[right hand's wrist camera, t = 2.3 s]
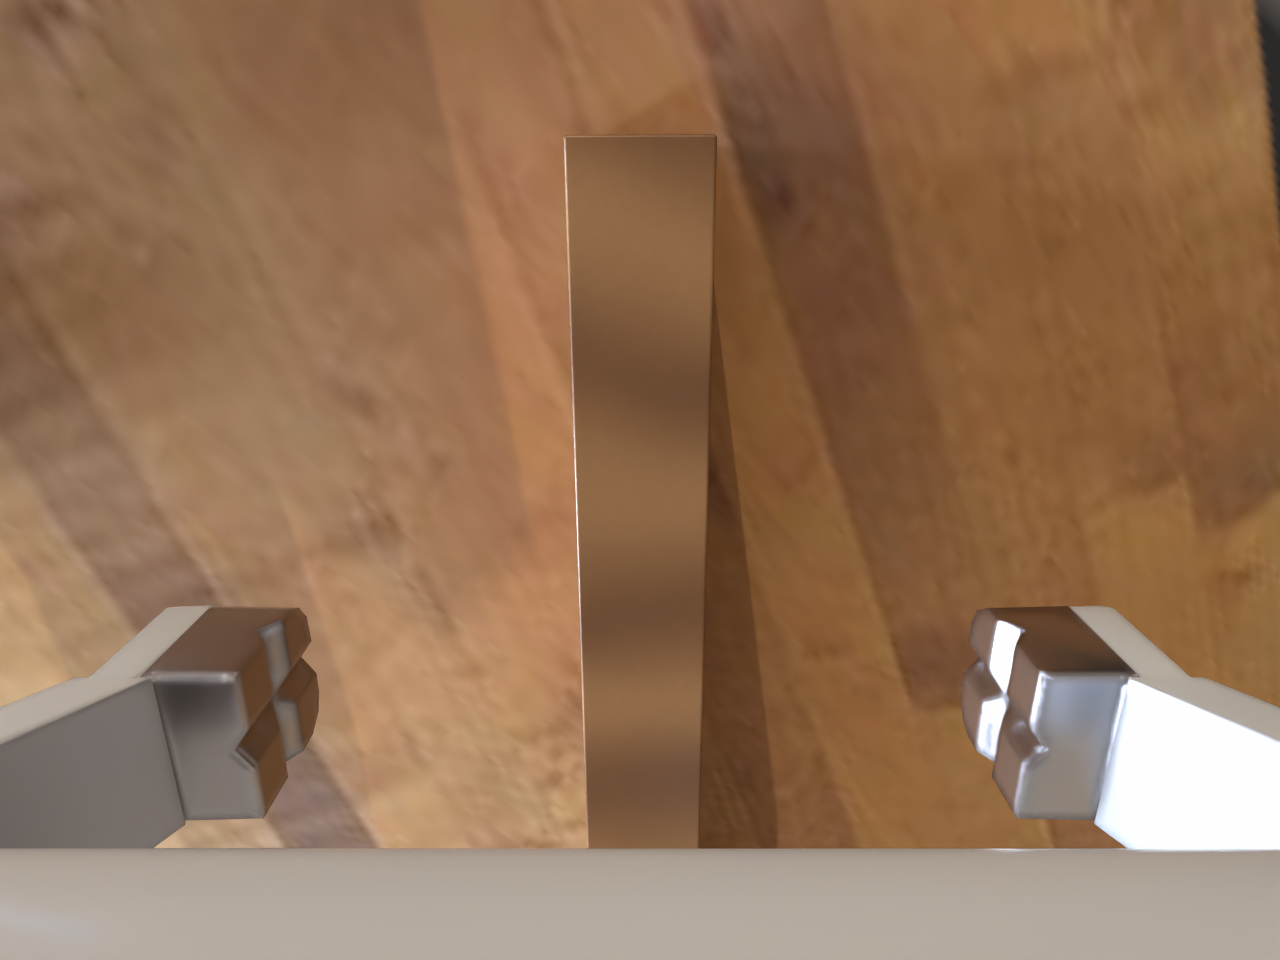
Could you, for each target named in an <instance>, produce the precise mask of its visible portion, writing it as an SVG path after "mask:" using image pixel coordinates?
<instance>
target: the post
mask: <svg viewBox="0 0 1280 960" xmlns="http://www.w3.org/2000/svg"><path fill="white" fill-rule="evenodd" d="M716 156H717V137H716V135H714V134H710V135H566V136H564V166H565V196H566V226H567V256H568V286H569V316H570V346H571V376H572V406H573V436H574V466H575V496H576V526H577V556H578V586H579V616H580V646H581V676H582V706H583V736H584V766H585V796H586V826H587V849H699V826H700V787H701V747H702V708H703V669H704V629H705V590H706V550H707V511H708V471H709V432H710V392H711V353H712V314H713V274H714V235H715V195H716Z"/></svg>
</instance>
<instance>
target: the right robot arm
mask: <svg viewBox="0 0 1280 960" xmlns="http://www.w3.org/2000/svg"><path fill="white" fill-rule="evenodd" d="M310 642H311V637H310V632H309V627H308V622H307V617H306V616H305V614H304V613H303V612H302V611H301V610H300V609H299V608H275V607H221V606H220V607H215V606H213V605H212V606H179V607H168V608H166V609H165V610H164V611H163V612H162V613H161V614H160V615H159V616H157V617H156V618H155V619H154V620H153V621H152V622H151V623H150V624H148V625H147V626H146V627H145V628H144V629H143V630H142V631H141V632H139V633H138V634H137V635H136V636H135V637H134V638H133V639H132V640H131V641H129V642H128V643H127V644H126V645H125V646H124V647H123V648H122V649H120V650H119V651H118V652H117V653H116V654H115V655H114V656H113V657H111V658H110V659H109V660H108V661H107V662H106V663H105V664H104V665H103V666H101V667H100V668H99V669H98V670H97V671H96V672H95V673H94V674H92V675H91V676H90V677H75V678H73V679H70V680H68V681H65V682H63V683H60V684H58V685H55V686H53V687H50V688H48V689H45V690H43V691H40V692H37V693H35V694H32V695H30V696H27V697H25V698H22V699H20V700H17V701H15V702H12V703H10V704H7V705H5V706H2V707H0V960H1280V707H1277V706H1275V705H1272V704H1270V703H1267V702H1265V701H1262V700H1260V699H1257V698H1255V697H1252V696H1250V695H1247V694H1245V693H1242V692H1240V691H1237V690H1235V689H1232V688H1230V687H1227V686H1225V685H1222V684H1220V683H1217V682H1215V681H1212V680H1210V679H1207V678H1205V677H1190V676H1189V675H1188V674H1186V673H1185V672H1184V671H1183V670H1182V669H1181V668H1180V667H1179V666H1178V665H1176V664H1175V663H1174V662H1173V661H1172V660H1171V659H1170V658H1169V657H1168V656H1166V655H1165V654H1164V653H1163V652H1162V651H1161V650H1160V649H1159V648H1157V647H1156V646H1155V645H1154V644H1153V643H1152V642H1151V641H1150V640H1149V639H1147V638H1146V637H1145V636H1144V635H1143V634H1142V633H1141V632H1140V631H1139V630H1137V629H1136V628H1135V627H1134V626H1133V625H1132V624H1131V623H1130V622H1128V621H1127V620H1126V619H1125V618H1124V617H1123V616H1122V615H1121V614H1120V613H1118V612H1117V611H1116V610H1115V609H1114V608H1110V607H1107V606H1103V605H1099V606H1077V607H1068V606H1056V607H1014V608H986V609H980V610H977V612H976V614H975V617H974V619H973V621H972V625H971V631H970V637H969V642H970V644H971V645H972V647H973V648H974V650H975V651H976V653H977V655H978V656H979V657H978V659H977V660H976V661H975V662H974V663H973V664H972V665H971V666H970V667H969V668H968V669H967V670H966V671H965V672H964V675H963V683H962V692H961V704H962V714H963V721H964V724H965V727H966V731H967V734H968V736H969V738H970V740H971V742H972V744H973V745H974V747H975V749H976V751H978V752H979V753H981V754H983V755H984V756H986V757H987V758H989V759H991V760H992V761H994V767H993V773H992V778H993V780H994V781H995V783H996V785H997V786H998V788H999V790H1000V791H1001V793H1002V795H1003V796H1004V798H1005V800H1006V801H1007V803H1008V805H1009V806H1010V808H1011V810H1012V811H1013V813H1014V815H1015V816H1016V818H1025V819H1062V820H1095V822H1094V824H1095V825H1097V826H1098V827H1099V828H1101V829H1102V830H1103V831H1105V832H1106V833H1107V834H1109V835H1110V836H1111V837H1113V838H1114V839H1116V840H1117V841H1118V842H1120V843H1121V844H1122V845H1124V846H1125V847H1126V848H1128V849H544V848H543V849H537V848H534V849H530V848H525V849H523V848H154V847H155V846H157V845H158V844H159V843H161V842H162V841H163V840H165V839H166V838H167V837H169V836H170V835H172V834H173V833H174V832H176V831H177V830H178V829H180V828H181V827H182V826H184V825H185V820H216V819H252V818H264V816H265V815H266V813H267V811H268V810H269V808H270V806H271V805H272V803H273V801H274V800H275V798H276V796H277V795H278V793H279V791H280V790H281V788H282V786H283V785H284V783H285V781H286V780H287V778H288V773H287V767H286V761H288V760H289V759H291V758H293V757H294V756H296V755H297V754H299V753H301V752H302V751H304V749H305V747H306V745H307V743H308V742H309V740H310V738H311V736H312V734H313V731H314V727H315V723H316V719H317V715H318V709H319V689H318V682H317V675H316V672H315V671H314V670H313V669H312V668H311V667H310V666H309V665H308V664H307V663H306V662H305V661H304V660H303V659H302V658H301V656H302V655H303V653H304V651H305V650H306V648H307V647H308V645H309V644H310Z"/></svg>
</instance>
